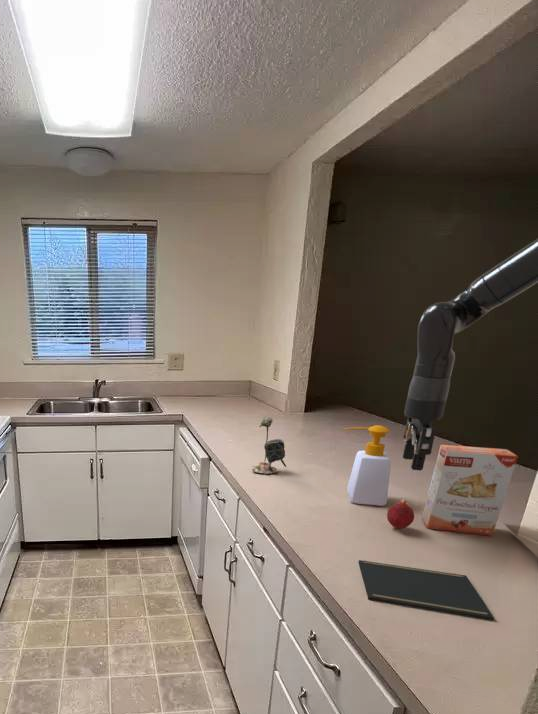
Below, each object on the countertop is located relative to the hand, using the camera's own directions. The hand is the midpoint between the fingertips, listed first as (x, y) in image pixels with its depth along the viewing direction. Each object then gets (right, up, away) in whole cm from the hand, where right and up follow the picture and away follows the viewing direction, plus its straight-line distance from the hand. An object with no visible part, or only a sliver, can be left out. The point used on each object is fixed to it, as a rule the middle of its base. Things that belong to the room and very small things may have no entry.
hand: (411, 464), depth 104 cm
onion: (0, -17, +6) cm, 18 cm away
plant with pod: (-20, -2, +47) cm, 51 cm away
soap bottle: (-1, -10, +24) cm, 26 cm away
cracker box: (+15, -16, +6) cm, 23 cm away
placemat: (-10, -25, -18) cm, 32 cm away
